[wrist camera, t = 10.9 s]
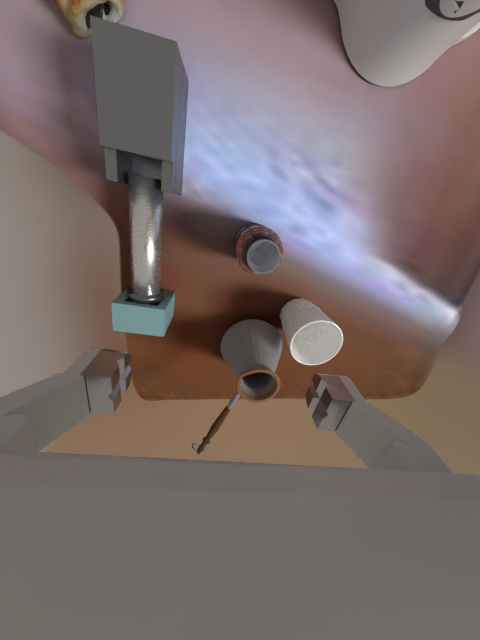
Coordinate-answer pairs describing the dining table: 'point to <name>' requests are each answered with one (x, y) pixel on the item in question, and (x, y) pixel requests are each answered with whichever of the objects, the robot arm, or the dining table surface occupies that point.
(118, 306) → the socket
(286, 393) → the dining table surface
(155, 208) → the tube
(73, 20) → the pastry
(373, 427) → the robot arm
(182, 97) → the sleeve
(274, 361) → the coffee pot
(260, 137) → the dining table surface
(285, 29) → the dining table surface
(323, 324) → the white cup
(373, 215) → the dining table surface
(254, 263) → the supplement bottle
